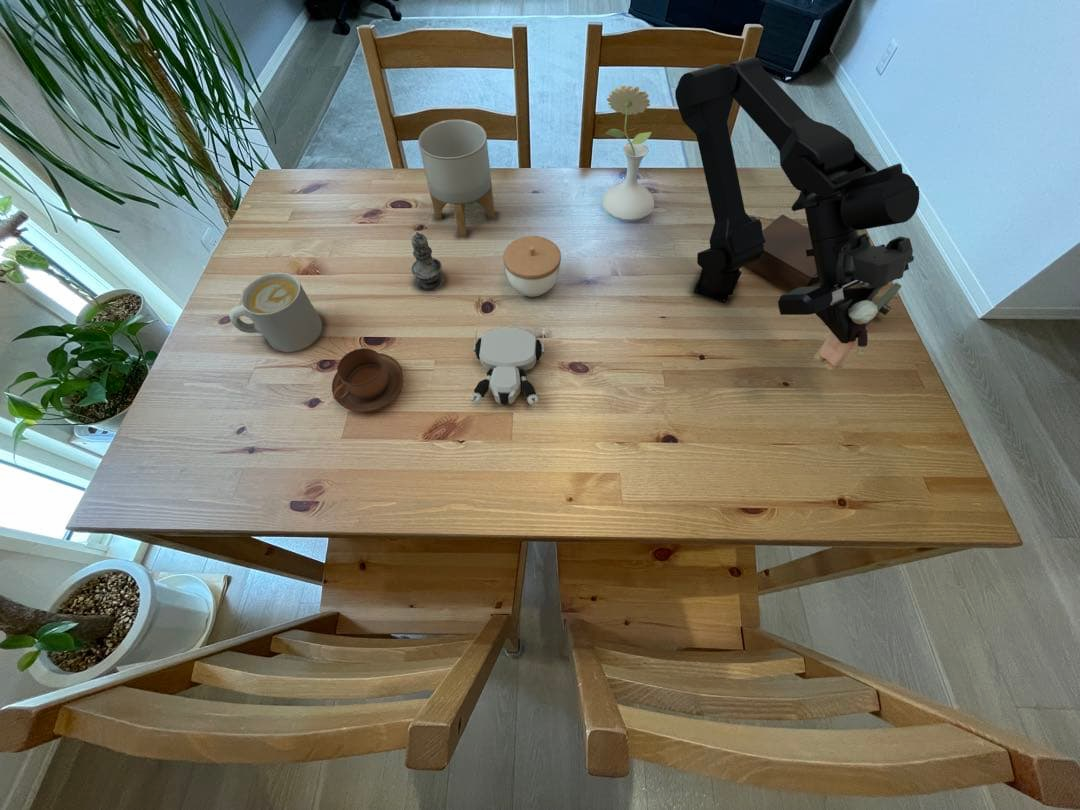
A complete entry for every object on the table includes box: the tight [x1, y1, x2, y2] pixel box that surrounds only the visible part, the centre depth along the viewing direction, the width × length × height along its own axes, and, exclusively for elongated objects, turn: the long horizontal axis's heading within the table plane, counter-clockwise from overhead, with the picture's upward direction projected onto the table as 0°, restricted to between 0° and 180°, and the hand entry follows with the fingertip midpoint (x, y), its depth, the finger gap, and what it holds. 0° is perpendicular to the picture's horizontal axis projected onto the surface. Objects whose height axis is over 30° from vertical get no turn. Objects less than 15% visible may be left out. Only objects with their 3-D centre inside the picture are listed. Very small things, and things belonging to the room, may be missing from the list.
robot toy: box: [469, 326, 545, 406], centre depth 88 cm, size 12×4×15 cm
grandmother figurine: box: [813, 300, 878, 372], centre depth 76 cm, size 8×4×13 cm, turn 43°
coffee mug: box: [229, 271, 323, 353], centre depth 91 cm, size 13×10×10 cm
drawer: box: [807, 274, 902, 326], centre depth 95 cm, size 14×10×4 cm
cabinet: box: [744, 214, 817, 293], centre depth 100 cm, size 14×12×6 cm
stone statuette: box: [410, 231, 444, 292], centre depth 97 cm, size 6×6×12 cm
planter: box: [417, 119, 496, 237], centre depth 105 cm, size 13×13×18 cm
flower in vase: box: [601, 84, 655, 222], centre depth 102 cm, size 13×11×25 cm
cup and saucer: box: [331, 347, 404, 413], centre depth 86 cm, size 12×12×6 cm
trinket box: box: [502, 235, 562, 298], centre depth 97 cm, size 11×11×9 cm
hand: (852, 339), depth 76 cm, fingers closed on grandmother figurine, 3 cm apart
